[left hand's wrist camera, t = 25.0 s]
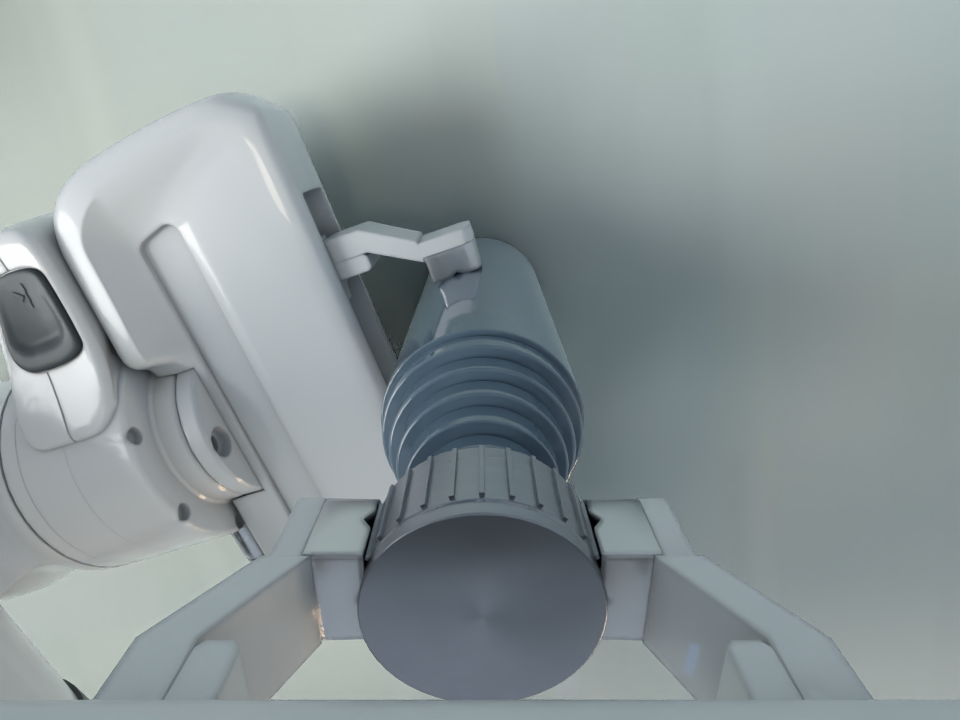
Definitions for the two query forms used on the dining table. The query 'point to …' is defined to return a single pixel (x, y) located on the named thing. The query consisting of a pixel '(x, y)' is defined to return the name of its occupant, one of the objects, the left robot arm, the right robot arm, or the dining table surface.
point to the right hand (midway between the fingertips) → (505, 326)
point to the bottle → (483, 370)
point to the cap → (482, 577)
